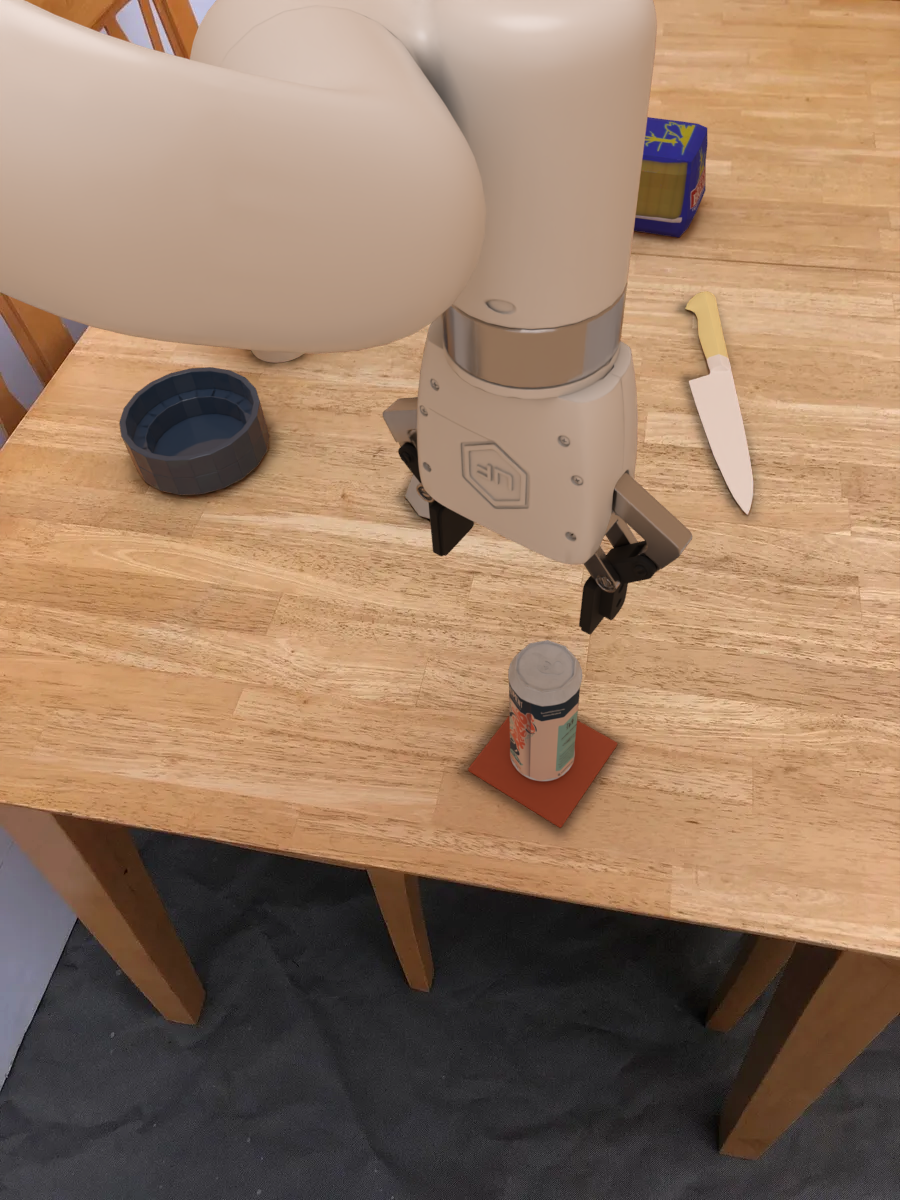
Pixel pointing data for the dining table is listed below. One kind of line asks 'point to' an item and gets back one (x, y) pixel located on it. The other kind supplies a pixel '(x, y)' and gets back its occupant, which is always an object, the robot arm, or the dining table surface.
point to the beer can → (543, 709)
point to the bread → (671, 176)
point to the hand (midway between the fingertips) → (523, 576)
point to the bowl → (195, 430)
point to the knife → (721, 403)
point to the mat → (544, 796)
